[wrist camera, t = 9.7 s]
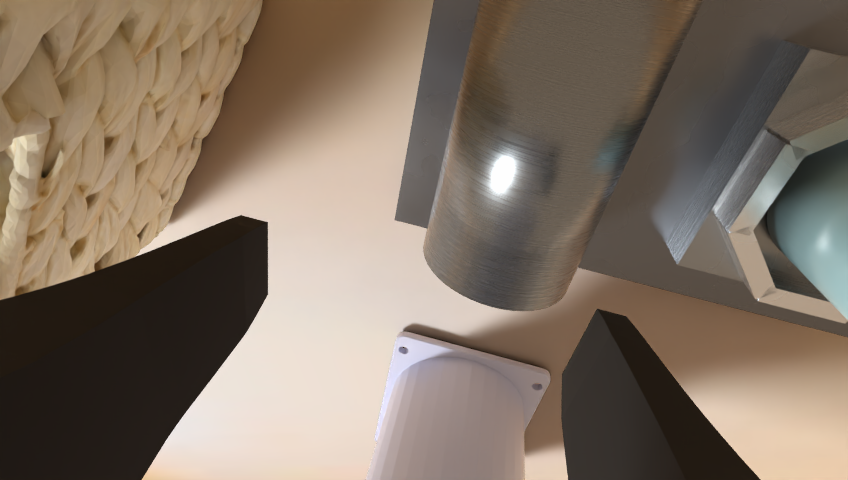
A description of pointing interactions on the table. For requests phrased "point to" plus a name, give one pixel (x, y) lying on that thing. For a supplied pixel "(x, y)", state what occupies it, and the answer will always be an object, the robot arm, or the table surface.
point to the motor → (622, 146)
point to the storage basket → (103, 124)
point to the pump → (816, 222)
